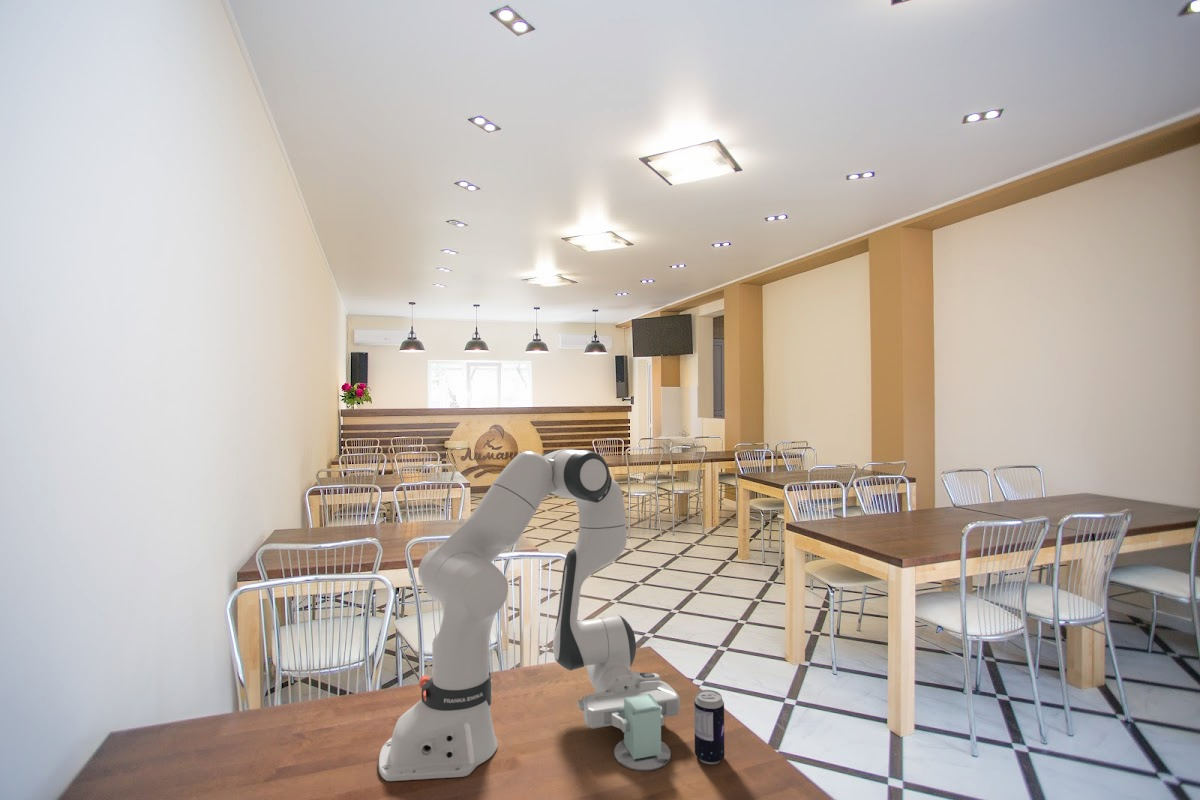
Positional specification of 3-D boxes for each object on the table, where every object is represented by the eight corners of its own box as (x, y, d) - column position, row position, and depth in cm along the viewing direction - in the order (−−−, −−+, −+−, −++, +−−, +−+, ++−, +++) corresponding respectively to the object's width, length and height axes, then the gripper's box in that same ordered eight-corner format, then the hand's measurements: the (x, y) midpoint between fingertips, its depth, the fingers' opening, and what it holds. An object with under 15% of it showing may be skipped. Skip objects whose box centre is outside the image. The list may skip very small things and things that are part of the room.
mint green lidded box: (633, 759, 113) (633, 711, 113) (624, 743, 118) (623, 697, 118) (661, 754, 115) (660, 707, 115) (650, 738, 120) (650, 693, 120)
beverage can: (727, 767, 112) (726, 703, 112) (697, 766, 112) (696, 702, 112) (721, 749, 118) (721, 688, 118) (692, 749, 118) (692, 688, 118)
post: (624, 775, 110) (624, 734, 110) (607, 743, 120) (607, 706, 120) (679, 765, 113) (679, 725, 113) (657, 734, 123) (657, 698, 123)
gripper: (574, 684, 126) (592, 717, 113) (664, 672, 132) (691, 701, 119) (574, 714, 126) (592, 750, 113) (664, 700, 132) (691, 733, 118)
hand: (644, 725), depth 116 cm, fingers closed on mint green lidded box, 5 cm apart
